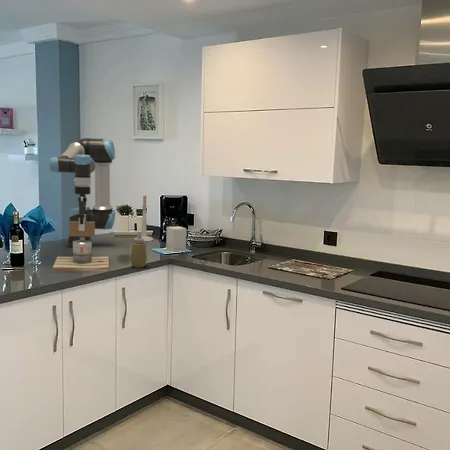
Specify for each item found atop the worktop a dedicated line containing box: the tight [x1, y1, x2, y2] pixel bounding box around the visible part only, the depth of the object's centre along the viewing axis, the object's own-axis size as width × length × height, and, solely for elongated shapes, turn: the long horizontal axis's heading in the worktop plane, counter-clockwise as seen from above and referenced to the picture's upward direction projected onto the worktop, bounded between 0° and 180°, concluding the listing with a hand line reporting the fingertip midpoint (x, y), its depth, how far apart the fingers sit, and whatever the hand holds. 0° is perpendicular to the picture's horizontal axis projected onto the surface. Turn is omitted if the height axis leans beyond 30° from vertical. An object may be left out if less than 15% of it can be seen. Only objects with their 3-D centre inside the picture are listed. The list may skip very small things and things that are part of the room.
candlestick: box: [133, 195, 154, 242], centre depth 337 cm, size 13×13×30 cm
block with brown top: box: [69, 220, 96, 255], centre depth 256 cm, size 10×12×16 cm
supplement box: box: [165, 226, 187, 252], centre depth 302 cm, size 9×9×15 cm
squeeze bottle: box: [130, 231, 148, 268], centre depth 261 cm, size 8×8×18 cm
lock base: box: [52, 253, 110, 273], centre depth 258 cm, size 26×26×6 cm
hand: (82, 228), depth 256 cm, fingers open, 13 cm apart
